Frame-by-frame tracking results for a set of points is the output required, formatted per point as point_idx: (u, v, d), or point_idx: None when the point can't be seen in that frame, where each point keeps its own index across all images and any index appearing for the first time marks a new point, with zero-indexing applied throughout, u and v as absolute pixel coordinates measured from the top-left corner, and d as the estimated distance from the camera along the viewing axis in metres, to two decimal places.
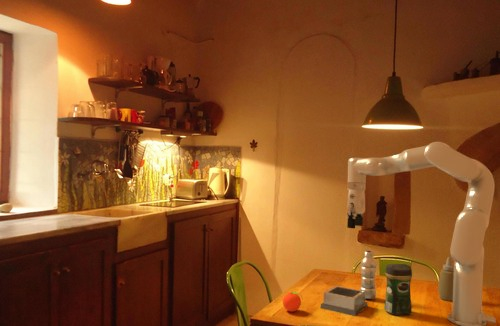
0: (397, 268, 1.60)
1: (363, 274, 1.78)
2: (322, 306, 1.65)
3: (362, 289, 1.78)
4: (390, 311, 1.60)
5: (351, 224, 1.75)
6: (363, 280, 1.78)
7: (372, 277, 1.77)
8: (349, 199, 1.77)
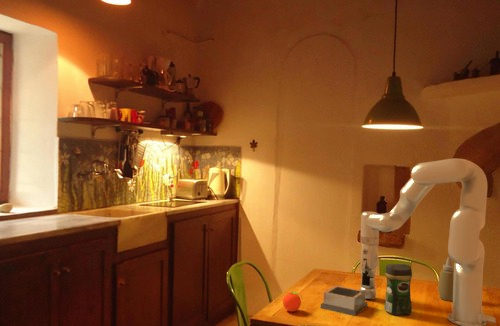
0: (397, 268, 1.60)
1: None
2: (322, 306, 1.65)
3: (362, 289, 1.78)
4: (390, 311, 1.60)
5: (366, 282, 1.76)
6: None
7: (372, 277, 1.77)
8: (362, 254, 1.76)
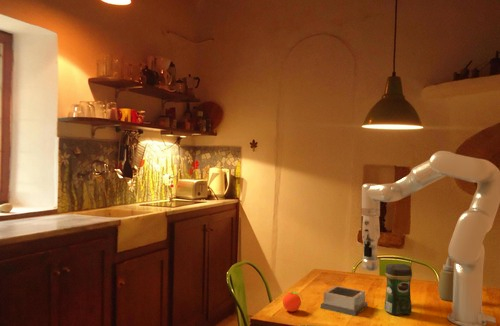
0: (397, 268, 1.60)
1: None
2: (322, 306, 1.65)
3: (364, 261, 1.78)
4: (390, 311, 1.60)
5: (368, 253, 1.76)
6: None
7: (374, 248, 1.77)
8: (364, 226, 1.76)
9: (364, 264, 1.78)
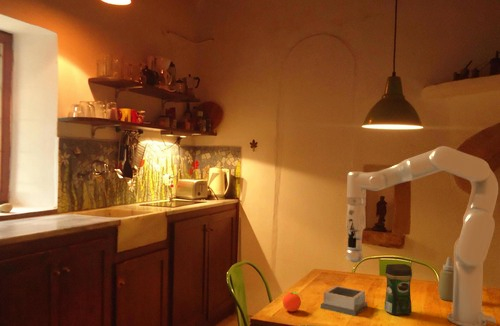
0: (397, 268, 1.60)
1: None
2: (322, 306, 1.65)
3: (348, 252, 1.71)
4: (390, 311, 1.60)
5: (352, 243, 1.68)
6: None
7: (358, 239, 1.69)
8: (348, 215, 1.69)
9: (348, 255, 1.70)
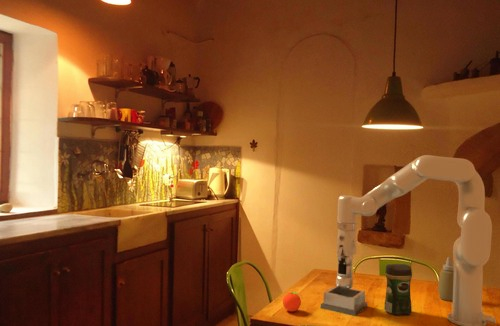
0: (397, 268, 1.60)
1: None
2: (322, 306, 1.65)
3: (338, 278, 1.66)
4: (390, 311, 1.60)
5: (342, 270, 1.64)
6: None
7: (349, 265, 1.65)
8: (338, 241, 1.64)
9: (338, 282, 1.66)
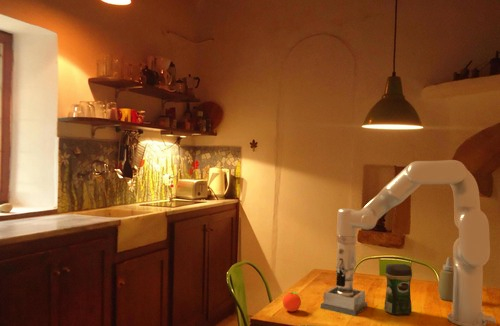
0: (397, 268, 1.60)
1: None
2: (322, 306, 1.65)
3: (339, 293, 1.66)
4: (390, 311, 1.60)
5: (340, 282, 1.63)
6: None
7: (350, 280, 1.65)
8: (338, 254, 1.64)
9: None
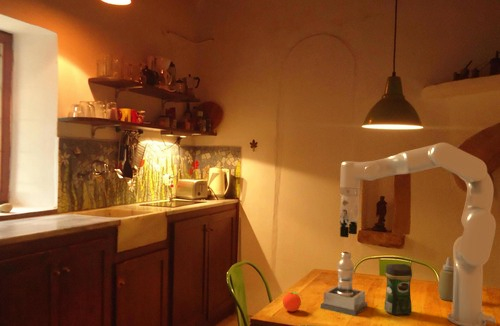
0: (397, 268, 1.60)
1: (340, 277, 1.66)
2: (322, 306, 1.65)
3: (339, 293, 1.66)
4: (390, 311, 1.60)
5: (344, 233, 1.63)
6: (340, 283, 1.66)
7: (349, 280, 1.65)
8: (342, 206, 1.65)
9: None
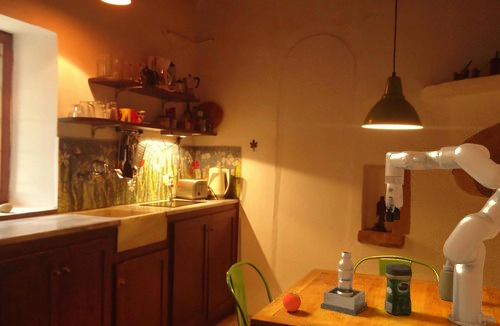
0: (397, 268, 1.60)
1: (340, 277, 1.66)
2: (322, 306, 1.65)
3: (339, 293, 1.66)
4: (390, 311, 1.60)
5: (390, 218, 1.75)
6: (340, 283, 1.66)
7: (349, 280, 1.65)
8: (388, 193, 1.77)
9: None
